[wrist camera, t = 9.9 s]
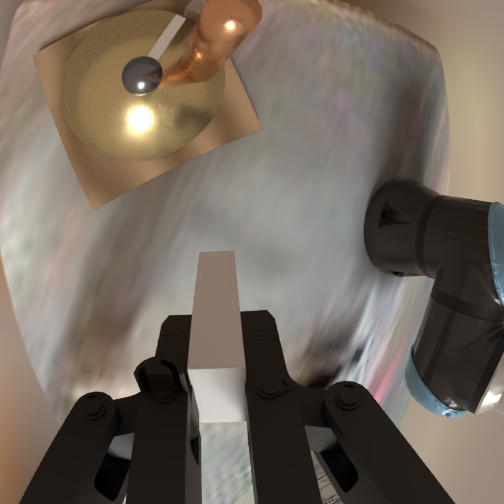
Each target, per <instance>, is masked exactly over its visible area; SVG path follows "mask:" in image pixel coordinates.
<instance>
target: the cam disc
mask: <svg viewBox="0 0 504 504" xmlns="http://www.w3.org/2000/svg"><path fill="white" fill-rule="evenodd" d="M261 18H262V8H261V5H260V3H259V2H258V0H206V2H205V5H204V7H203V9H202V11H201V14H200V16H199V18H198V20H197V23H195V22H193V21H192V20H190V19H188V18H186V17H184V16H182V15H179V14H176V13H172V12H168V11H162V10H140V11H133V12H129V13H125V14H122V15H119V16H117V17H114V18H112V19H110V20H108V21H106V22H104V23H102V24H101V25H99V26H98V27H96V28H95V29H94V30H92V31H91V32H90V33H89V34H88V35H87V36H86V37H85V38H84V39H83V40H82V41H81V42H80V43H79V44H78V46H77V47H76V48H75V50H74V51H73V52H72V54H71V56H70V58H69V60H68V62H67V64H66V67H65V69H64V72H63V76H62V80H61V89H60V96H61V105H62V110H63V113H64V116H65V119H66V121H67V123H68V125H69V126H70V128H71V130H72V131H73V132H74V133H75V135H76V136H77V137H78V138H79V139H80V140H81V141H82V142H83V143H84V144H86V145H87V146H89V147H90V148H91V149H93V150H95V151H96V152H98V153H100V154H103V155H105V156H108V157H111V158H114V159H119V160H125V161H143V160H150V159H155V158H159V157H162V156H165V155H168V154H170V153H172V152H174V151H177V150H178V149H180V148H182V147H183V146H185V145H186V144H188V143H189V142H190V141H192V140H193V139H194V138H195V137H197V136H198V135H199V134H200V133H201V132H202V131H203V130H204V129H205V128H206V126H207V125H208V124H209V123H210V121H211V120H212V119H213V117H214V115H215V114H216V112H217V110H218V108H219V106H220V103H221V101H222V97H223V94H224V88H225V67H224V64H225V62H226V61H227V60H228V59H229V57H230V56H231V55H232V54H233V53H234V51H235V50H236V49H237V48H238V47H239V45H240V44H241V43H242V42H243V41H244V39H245V38H246V37H247V36H248V35H249V34H250V32H251V31H252V30H253V29H254V28H255V27H256V26H257V25H258V23H259V22H260V20H261Z"/></svg>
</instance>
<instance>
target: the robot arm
mask: <svg viewBox="0 0 504 504" xmlns="http://www.w3.org/2000/svg"><path fill="white" fill-rule="evenodd" d="M364 236H365V245H366V250H367V253H368V256H369V258H370V260H371V261H372V263H373V264H374V265H375V266H376V267H377V268H378V269H379V270H381V271H383V272H385V273H387V274H390V275H393V276H398V277H403V276H428V277H430V278H433V279H435V280H434V284H433V288H432V291H431V294H430V298H429V301H428V304H427V308H426V311H425V314H424V317H423V320H422V323H421V326H420V329H419V332H418V334H417V337H416V340H415V342H414V344H413V346H412V347H411V350H410V357H409V360H408V363H407V366H406V369H405V381H406V386H407V388H408V390H409V392H410V393H411V395H412V396H413V397H414V398H415V400H416V401H417V402H418V403H419V404H420V405H422V406H423V407H424V408H426V409H427V410H429V411H431V412H432V413H435V414H437V415H440V416H443V415H444V414H445V415H446V416H447V417H448V418H449V417H450V418H455V417H459V416H461V415H463V414H464V413H466V412H467V411H470V412H472V413H474V414H476V415H478V414H481V413H483V412H486V411H488V410H495V411H497V412H499V413H501V414H503V415H504V205H502V204H501V203H499V202H493V203H491V202H485V201H479V200H472V199H465V198H458V197H451V196H444V195H440V194H438V193H437V192H435V191H433V190H431V189H430V188H428V187H426V186H424V185H422V184H421V183H419V182H417V181H414V180H407V179H395V180H392V181H389V182H388V183H386V184H385V185H383V186H382V187H381V188H380V189H379V191H378V192H377V193H376V194H375V196H374V198H373V200H372V201H371V204H370V206H369V209H368V212H367V216H366V221H365V230H364ZM134 376H135V378H136V381H137V383H138V386H139V388H140V390H141V392H139V393H137V394H135V395H132V396H129V397H125V398H120V399H115V400H113V399H112V398H111V396H109V395H107V394H106V393H104V392H90V393H87V394H85V395H83V396H82V397H80V398H79V400H78V401H77V402H76V403H75V405H74V406H73V408H72V410H71V411H70V413H69V415H68V416H67V418H66V419H65V421H64V423H63V425H62V426H61V428H60V430H59V431H58V433H57V435H56V436H55V438H54V440H53V442H52V443H51V445H50V447H49V449H48V451H47V452H46V454H45V456H44V458H43V459H42V461H41V463H40V465H39V467H38V469H37V470H36V472H35V474H34V476H33V478H32V480H31V482H30V483H29V485H28V487H27V489H26V491H25V493H24V495H23V497H22V499H21V501H20V503H19V504H122V503H123V501H124V498H125V496H126V504H202V485H201V435H200V431H199V419H200V423H214V422H238V421H247V430H248V446H249V454H250V463H251V473H252V482H253V491H254V499H255V504H323V503H322V499H321V494H320V490H319V486H318V481H317V477H316V473H315V468H314V464H313V460H312V455H311V451H313V453H314V454H315V456H316V458H317V460H318V461H319V463H320V465H321V467H322V468H323V470H324V472H325V474H326V475H327V477H328V479H329V480H330V482H331V484H332V486H333V487H334V489H335V491H336V492H337V494H338V496H339V497H340V499H341V501H342V502H343V504H455V503H454V501H453V500H452V499H451V498H450V496H449V495H448V494H447V492H446V491H445V490H444V488H443V487H442V486H441V484H440V483H439V482H438V481H437V479H436V478H435V477H434V475H433V474H432V473H431V471H430V470H429V469H428V467H427V466H426V465H425V464H424V462H423V461H422V460H421V458H420V457H419V456H418V455H417V453H416V452H415V451H414V449H413V448H412V447H411V445H410V444H409V443H408V442H407V440H406V439H405V438H404V436H403V435H402V434H401V433H400V431H399V430H398V429H397V427H396V426H395V425H394V423H393V422H392V421H391V419H390V418H389V417H388V416H387V414H386V413H385V412H384V410H383V409H382V408H381V407H380V405H379V404H378V403H377V401H376V400H375V399H374V398H373V396H372V395H371V394H370V392H369V391H368V390H367V389H366V388H365V387H363V386H362V385H360V384H358V383H356V382H351V381H342V382H337V383H335V384H333V385H332V386H330V387H329V388H328V390H319V389H311V388H307V387H303V386H301V385H299V384H297V383H296V382H295V381H293V380H292V378H291V377H290V376H289V374H288V372H287V368H286V364H285V360H284V355H283V351H282V347H281V343H280V340H279V334H278V331H277V326H276V321H275V318H274V317H273V316H272V315H271V314H270V313H269V312H268V311H267V310H259V311H243V312H240V307H239V296H238V285H237V275H236V263H235V252H234V251H217V252H200V253H199V261H198V269H197V277H196V286H195V294H194V303H193V313H192V315H169V316H168V317H167V319H166V320H165V321H164V322H163V324H162V325H161V330H160V334H159V339H158V346H157V349H156V354H155V357H151V358H149V359H146V360H144V361H143V362H142V363H140V364H139V365H138V366H137V368H136V370H135V372H134ZM126 493H127V495H126Z"/></svg>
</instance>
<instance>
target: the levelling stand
mask: <svg viewBox="0 0 504 504" xmlns="http://www.w3.org/2000/svg"><path fill="white" fill-rule="evenodd" d="M205 2H206V0H154V1H150V2H147V3H144V4H141V5H138V6H136V7H133V8H130V9H127V10H125V11H122V12H119V13H117V14H114V15H112V16H109V17H107V18H105V19H102V20H100V21H98V22H95V23H93V24H91V25H89V26H87V27H84V28H82V29H80V30H78V31H76V32H74V33H72V34H70V35H68V36H66V37H64V38H62V39H61V40H59V41H57V42H55V43H53V44H51V45H50V46H48V47H46V48H44V49H43V50H41V51H39V52H38V53H36V54H34V55H33V59H34V62H35V66H36V69H37V72H38V75H39V79H40V82H41V85H42V88H43V91H44V94H45V97H46V100H47V103H48V106H49V109H50V111H51V114H52V117H53V119H54V122H55V125H56V127H57V130H58V133H59V135H60V138H61V140H62V143H63V145H64V148H65V150H66V152H67V155H68V157H69V159H70V162H71V164H72V166H73V169H74V171H75V173H76V175H77V178H78V180H79V182H80V184H81V186H82V189H83V191H84V193H85V195H86V197H87V199H88V201H89V203H90V205H91V207H92V209H93V211H94V210H96V209H97V208H99V207H101V206H103V205H104V204H106V203H108V202H110V201H111V200H113V199H115V198H117V197H119V196H120V195H122V194H124V193H126V192H128V191H130V190H131V189H133V188H135V187H137V186H139V185H141V184H143V183H145V182H147V181H148V180H150V179H152V178H154V177H156V176H158V175H160V174H162V173H164V172H166V171H168V170H170V169H172V168H174V167H176V166H179V165H181V164H183V163H185V162H187V161H189V160H191V159H193V158H196V157H198V156H200V155H202V154H204V153H206V152H209V151H211V150H213V149H215V148H218V147H220V146H222V145H225V144H227V143H229V142H232V141H234V140H236V139H239V138H241V137H244V136H246V135H249V134H251V133H254V132H256V131H259V130H261V129H262V127H261V125H260V123H259V120H258V118H257V116H256V114H255V111H254V109H253V107H252V104H251V102H250V100H249V98H248V95H247V93H246V91H245V89H244V87H243V84H242V82H241V80H240V78H239V76H238V74H237V71H236V69H235V67H234V65H233V63H232V61H231V59H230V57H229V59H228V60H227V61H226V62H225V64H224V67H225V88H224V94H223V97H222V101H221V103H220V106H219V108H218V110H217V112H216V114H215V115H214V117H213V119H212V120H211V121H210V123H209V124H208V125H207V126H206V128H205V129H204V130H203V131H202V132H201V133H200V134H199V135H198V136H197V137H195V138H194V139H193V140H192V141H190V142H189V143H188V144H186V145H185V146H183V147H182V148H180V149H178V150H177V151H174V152H172V153H170V154H168V155H165V156H162V157H159V158H155V159H150V160H143V161H125V160H119V159H114V158H111V157H108V156H105V155H103V154H100V153H98V152H96V151H95V150H93V149H91V148H90V147H89V146H87V145H86V144H84V143H83V142H82V141H81V140H80V139H79V138H78V137H77V136H76V135H75V133H74V132H73V131H72V130H71V128H70V126H69V125H68V123H67V121H66V119H65V116H64V113H63V110H62V105H61V96H60V89H61V80H62V76H63V72H64V69H65V67H66V64H67V62H68V60H69V58H70V56H71V54H72V52H73V51H74V50H75V48H76V47H77V46H78V44H79V43H80V42H81V41H82V40H83V39H84V38H85V37H86V36H87V35H88V34H89V33H90V32H91V31H92V30H94V29H95V28H96V27H98V26H99V25H101V24H102V23H104V22H106V21H108V20H110V19H112V18H114V17H117V16H119V15H122V14H125V13H129V12H133V11H140V10H162V11H168V12H172V13H176V14H179V15H182V16H184V17H186V18H188V19H190V20H192V21H193V22H195V23H197V20H198V18H199V16H200V14H201V11H202V9H203V7H204V5H205Z"/></svg>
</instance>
